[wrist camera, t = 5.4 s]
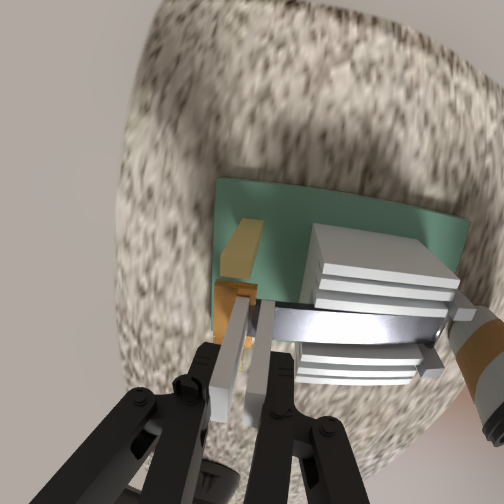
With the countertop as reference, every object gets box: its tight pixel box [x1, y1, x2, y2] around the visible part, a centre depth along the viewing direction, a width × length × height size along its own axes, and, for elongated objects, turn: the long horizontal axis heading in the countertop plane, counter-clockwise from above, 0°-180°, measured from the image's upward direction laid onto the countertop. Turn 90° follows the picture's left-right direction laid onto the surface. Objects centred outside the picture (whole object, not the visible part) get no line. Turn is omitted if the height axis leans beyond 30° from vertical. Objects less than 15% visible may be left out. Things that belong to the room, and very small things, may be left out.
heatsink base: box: [211, 177, 477, 385], centre depth 19 cm, size 22×14×9 cm, turn 85°
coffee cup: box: [449, 305, 504, 447], centre depth 16 cm, size 8×8×15 cm
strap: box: [213, 279, 449, 349], centre depth 16 cm, size 16×4×1 cm, turn 85°
